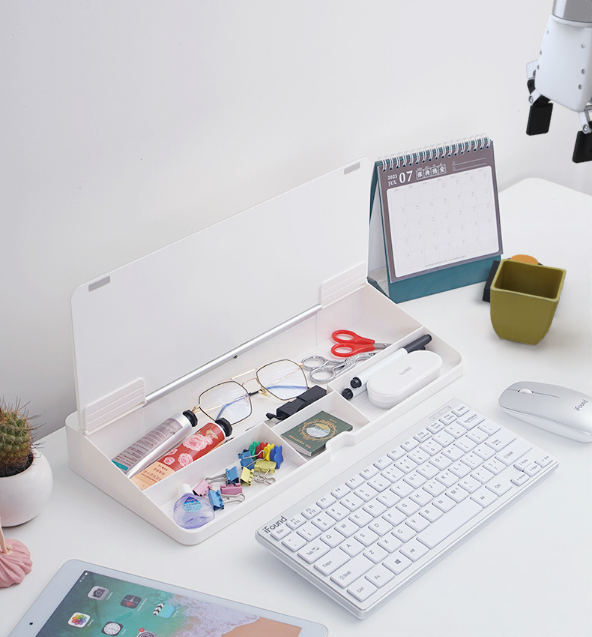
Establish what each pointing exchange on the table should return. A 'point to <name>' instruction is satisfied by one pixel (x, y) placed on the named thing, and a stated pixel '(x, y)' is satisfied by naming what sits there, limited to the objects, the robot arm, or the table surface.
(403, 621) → the table surface
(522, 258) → the switch button
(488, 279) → the switch
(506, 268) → the flower pot
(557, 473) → the table surface
